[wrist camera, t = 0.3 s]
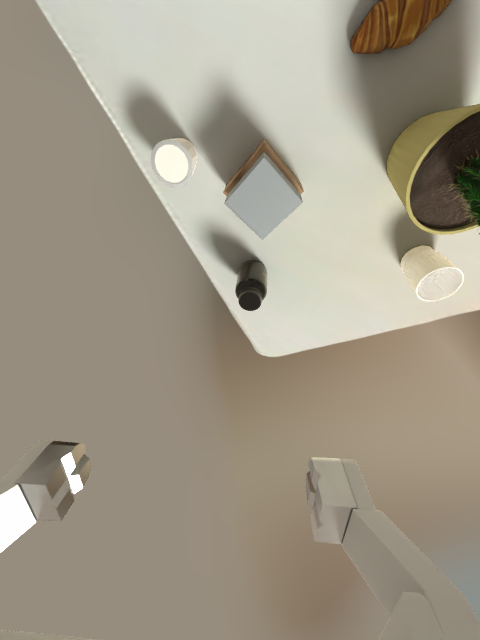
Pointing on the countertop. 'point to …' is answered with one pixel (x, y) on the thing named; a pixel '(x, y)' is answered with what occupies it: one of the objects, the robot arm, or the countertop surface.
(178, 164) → the white piece
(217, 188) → the countertop surface
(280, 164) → the bottom block
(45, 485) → the robot arm
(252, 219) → the top block
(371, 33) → the croissant
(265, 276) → the supplement bottle
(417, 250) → the white cup
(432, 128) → the potted cactus
